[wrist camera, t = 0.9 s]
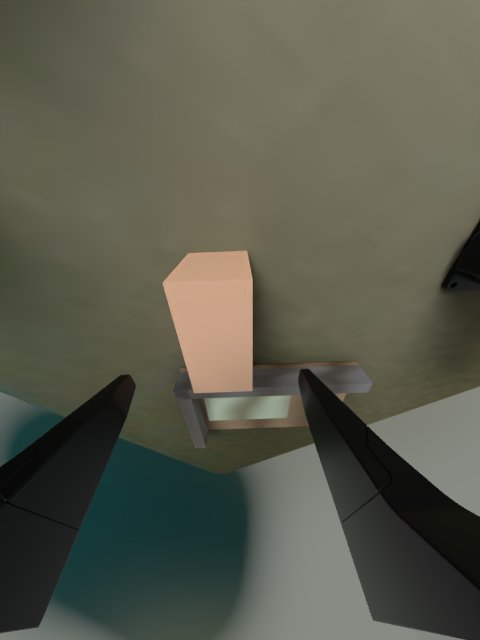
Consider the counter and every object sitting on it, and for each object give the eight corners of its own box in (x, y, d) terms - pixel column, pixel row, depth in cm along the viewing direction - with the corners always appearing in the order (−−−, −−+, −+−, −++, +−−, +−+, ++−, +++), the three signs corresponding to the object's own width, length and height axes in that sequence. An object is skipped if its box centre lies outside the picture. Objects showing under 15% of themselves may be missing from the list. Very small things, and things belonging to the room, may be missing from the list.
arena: (356, 361, 21) (373, 383, 18) (329, 421, 28) (339, 443, 26) (180, 367, 21) (173, 390, 18) (199, 426, 28) (195, 448, 26)
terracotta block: (247, 250, 14) (252, 279, 9) (248, 340, 19) (252, 391, 14) (188, 252, 14) (162, 282, 9) (205, 342, 19) (194, 393, 14)
